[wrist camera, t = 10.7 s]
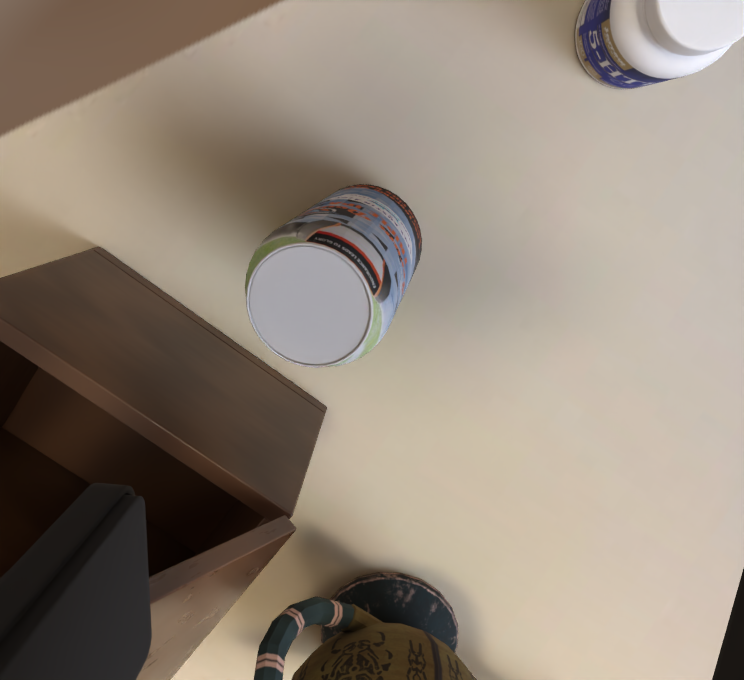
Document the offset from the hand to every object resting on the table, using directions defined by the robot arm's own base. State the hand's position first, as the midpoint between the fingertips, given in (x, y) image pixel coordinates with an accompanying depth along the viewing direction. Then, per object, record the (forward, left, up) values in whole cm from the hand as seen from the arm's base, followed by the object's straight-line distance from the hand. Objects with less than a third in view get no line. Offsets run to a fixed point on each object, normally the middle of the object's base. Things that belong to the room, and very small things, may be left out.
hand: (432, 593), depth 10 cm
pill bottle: (+1, +16, -26) cm, 30 cm away
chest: (-7, -16, -26) cm, 31 cm away
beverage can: (-4, -1, -26) cm, 26 cm away
